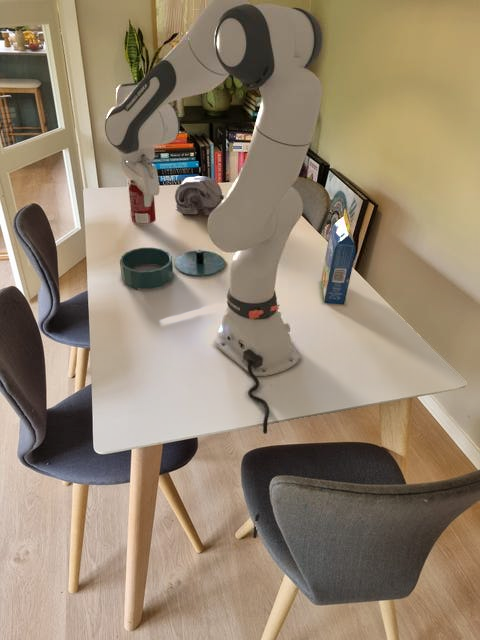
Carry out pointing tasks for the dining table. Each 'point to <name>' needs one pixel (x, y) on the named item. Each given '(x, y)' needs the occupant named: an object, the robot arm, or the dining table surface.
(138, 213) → the soda can
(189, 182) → the grey cloth bundle
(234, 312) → the robot arm
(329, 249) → the blue food package
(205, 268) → the pan lid
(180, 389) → the dining table surface
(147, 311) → the dining table surface
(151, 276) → the pan
